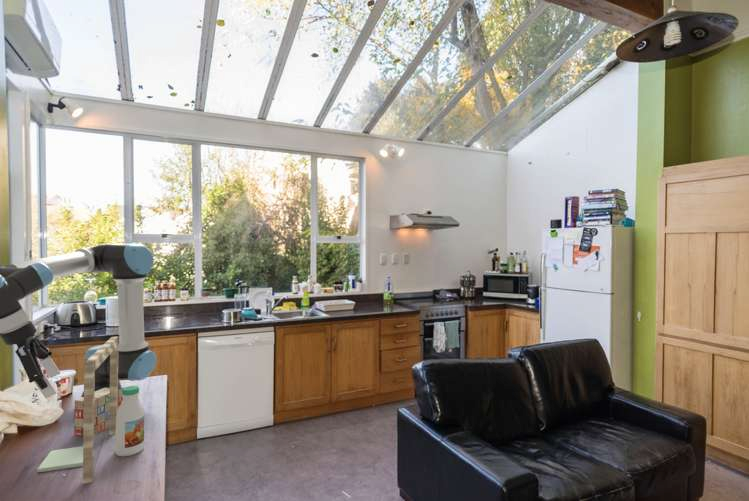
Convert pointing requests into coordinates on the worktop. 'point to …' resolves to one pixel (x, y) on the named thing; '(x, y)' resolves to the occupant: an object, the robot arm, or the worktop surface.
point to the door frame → (89, 394)
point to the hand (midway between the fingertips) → (53, 385)
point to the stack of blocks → (95, 411)
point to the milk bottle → (130, 423)
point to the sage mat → (62, 459)
